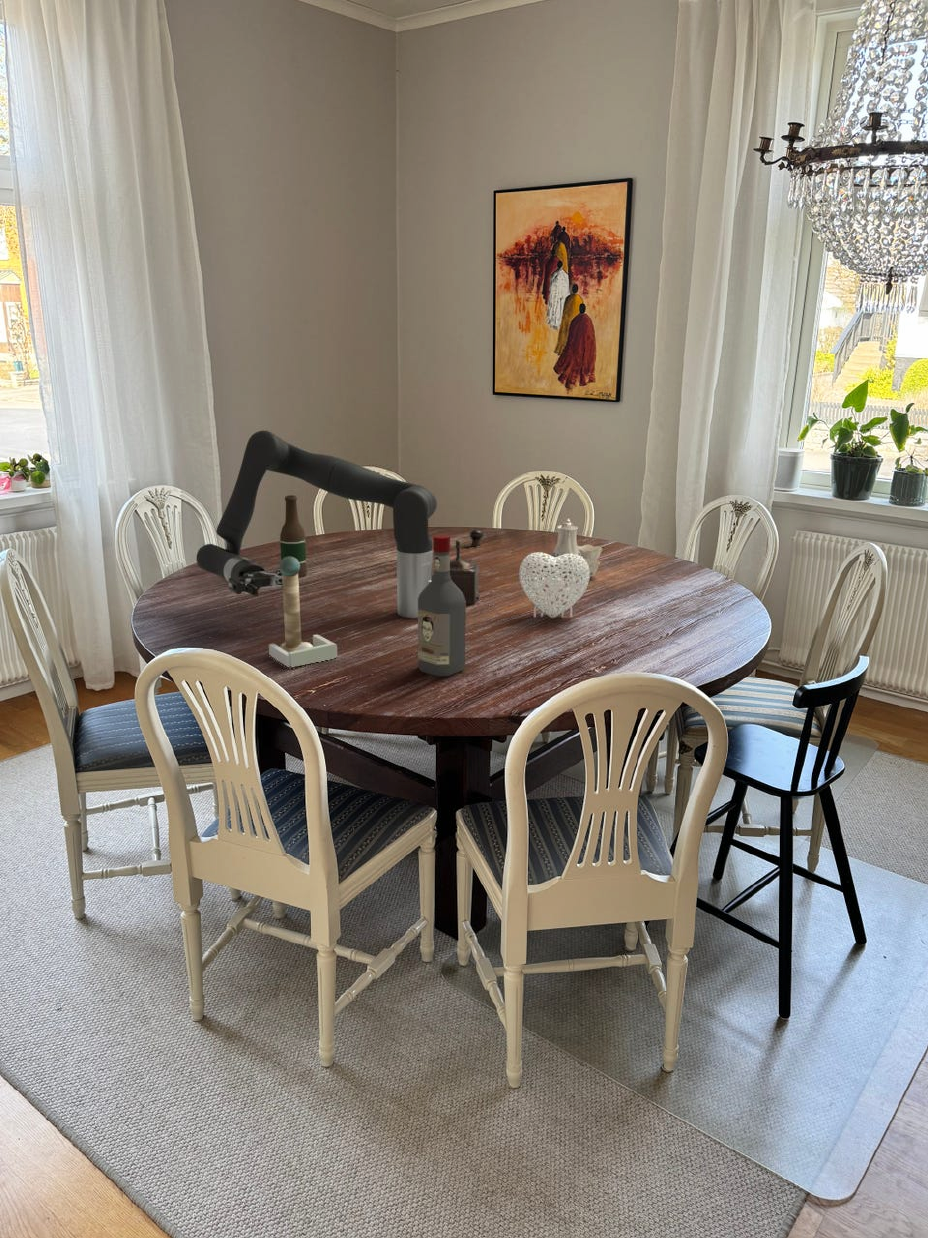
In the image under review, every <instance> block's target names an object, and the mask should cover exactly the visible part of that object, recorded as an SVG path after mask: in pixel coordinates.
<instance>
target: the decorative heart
mask: <svg viewBox="0 0 928 1238" xmlns="http://www.w3.org/2000/svg"><path fill="white" fill-rule="evenodd" d="M568 556H569V557H568ZM572 556H573V557H572ZM568 558H571V559H570V560H568ZM578 560H579V561H578ZM563 561H566V562H563ZM569 561H571V563H569ZM575 561H576V562H575ZM556 562H557V563H556ZM583 562H584V563H583ZM520 563H521V564H520V566H519V571H518V573H519V575H518V576H519V583H520V585H521V588H522V590H523V592H524V594H525V595H526V596H527V598H528V599H529V600H530V602H531V603H533V605H534V606H533V607H534V608H533V618H537V609H538V610H539V611H541V612H540V617H541V618H543V617H544V614H545V615H547V616H548V617H550V619H555V618H557V616H560V615H561V618H562V619H564V618H565V612H566V611H567V610H569V609H570V611H569V618H570V619H572V618H573V609H574V608H573V606H574V605H575V604H576V603H577V602H578V601H579V600H580V599H581V597H582V596H583V595H584V593H585V592H586V590H587V587H588V585H589V582H590V579H589V576H590V571H589V566H588V564H587V562H586V561H585V560H584V559H583V558H582V557H581V556H579V555H576V554H564V555H561V556H558V557H552V556H551V554H548V553H545V552H541V551H540V552H531V553H530V554H527V556H525V557H524V559H523V560H522V561H521V562H520ZM573 563H575V564H573ZM577 563H579V565H578V564H577ZM581 563H582V564H581ZM565 564H567V565H565ZM551 565H553V567H552V566H551ZM555 565H558V566H557V567H556V566H555ZM570 565H572V566H570ZM574 565H576V566H574ZM573 567H574V568H573ZM559 568H561V569H559ZM564 568H566V569H564ZM578 568H579V569H578ZM569 569H570V570H569ZM576 570H577V571H576ZM581 570H582V571H581ZM564 571H566V573H562V572H564ZM569 571H571V573H568V572H569ZM578 571H579V572H578ZM579 575H580V576H579ZM565 577H566V578H565ZM581 577H582V579H581ZM584 577H585V578H584ZM590 577H591V576H590ZM566 585H567V586H566ZM544 590H545V591H544ZM560 590H561V591H560ZM559 591H560V592H559ZM564 603H565V604H564Z"/></svg>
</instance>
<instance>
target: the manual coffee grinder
mask: <svg viewBox="0 0 928 1238" xmlns="http://www.w3.org/2000/svg"><path fill="white" fill-rule="evenodd" d="M469 537H470V539H471V543H470V545H461V541H460V540H456V541H455V549H456V558H454V559H452V560H450V576H451V580H452V582H453V583H454V584H455V585H456V586H457V587H458V588H459V589H460V590H461V591H462V593H463V595H464V598H465V601H466V606H474V605H475V604H476V603H477V601H478V599H480V594H479V593H480V592H479V567H480V563H479V562H471V561H472V559H471V558H470V560H467V559H465V558H461V553H460V552H461V550H469V549H472V548H474V549H476V548H477V547H481V540H482V539H483V537H484V532H483V531H481V529H472V530H470V532H469Z"/></svg>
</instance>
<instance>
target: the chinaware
mask: <svg viewBox="0 0 928 1238" xmlns="http://www.w3.org/2000/svg"><path fill="white" fill-rule="evenodd" d="M556 527H557V531H558V535H557V536H558V538H557V543H556V545H555V548H554V550H553V551H552V553H551V554H550V556H552V557H558V556H561V555H564V554H576V555H579V556H581V557H582V558H583V559H584V560H585V561H586V562H587V564H588V566H589V571H590V576H589V580H591V577H592V576H594V575H595V574H596V572H597V571H598V567H599V565H600V564H602V561H601V560H598V559H599V558H600V556H601V553H602V552H603V548H602V546H600V545H596V546H594V545H591V544H584V545H578V543H577V533H578V529H579V526H577V525H574V524H573V522H571V520H570V518H566V520H565V522H563V523H562V524H560V525H558V526H556ZM568 557H569V556H568ZM572 557H573V556H572ZM570 559H571V558H568V560H570ZM578 561H579V560H578ZM563 562H566V561H563ZM575 562H576V561H575ZM556 563H557V562H556ZM569 563H571V561H569ZM583 563H584V562H583ZM573 564H575V563H573ZM577 564H578V565H579V563H577ZM581 564H582V563H581ZM565 565H567V564H565ZM555 566H556V567H557V566H558V565H555ZM570 566H572V565H570ZM574 566H576V565H574ZM551 567H553V565H551ZM573 568H574V567H573ZM559 569H561V568H559ZM564 569H566V568H564ZM578 569H579V568H578ZM569 570H570V569H569ZM576 571H577V570H576ZM581 571H582V570H581ZM578 572H579V571H578ZM562 573H563V574H565V573H566V571H564V572H562ZM568 573H569V574H571V571H569V572H568ZM579 576H580V575H579ZM584 578H585V577H584ZM581 580H582V577H581Z"/></svg>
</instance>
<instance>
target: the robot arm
mask: <svg viewBox="0 0 928 1238" xmlns="http://www.w3.org/2000/svg"><path fill="white" fill-rule="evenodd" d="M241 461H242V462H241V464H240V468H239V472H238V475H237V479H236V481H235V484H234V487H233V490H232V492H231V495H230V498H229V501H228V503H227V505H226V508H225V509H224V512H223V513H222V516H221V519H220V521H219V523H218V525H217V527H216V530H215V531H216V534H217V536H219V537H220V538H221V539H223V540H224V541H225V543H226V548H223V547H221V546H218V545H216V544H214V543H205V544H203V545H202V546H201V547H200V548H199V549H198V550H197V553H196V558H195V559H196V562H197V566H198V567H199V568H200V569H202V570H203V571H205V572H209V573H211V574H213V575H215V576H216V575H217V576H218V577H220V578H221V579H223V580H225V581H226V582H228V589H229V590H230V591H231V592H234V593H235V594H236V595H242V592H243V593H244V594H247V595H248V594H249V595H251V596H254V597H258V596H259V590H261V589H267V588H268V589H276V588H282V589H283V584H282V573H281V571H280V569H278V570H276V571H275V573H274V572H266V569H264V567H263V566H262V565H261V564H259V563H257V562H254V561H253V560H251V559H248V558H246V557H242V556H241V555H240V554H241V548H242V543H243V539H244V536H245V534H246V531H247V530H248V527H249V525H250V523H251V520H252V518H253V516H254V512H255V507H256V501H257V496H258V490H259V487H260V484H261V482H262V480H263V477H264V475H265V474H266V472H267V471H270V472H274V473H278V474H282V475H286V476H291V477H294V478H298V479H299V480H302V481H304V482H306V483H308V484H310V485H312V486H313V487H316V488H318V489H319V490H323V491H325V492H328V493H330V494H331V495H335V496H337V497H341V498H344V499H347V500H350V501H351V500H352V501H357V502H365V503H375V504H380V505H382V506H387V507H389V508H392V520H393V521H392V523H393V537H394V541H395V543H396V580H397V581H396V584H397V587H396V588H397V589H396V592H397V595H396V597H397V614H398V616H400V617H403V618H406V619H407V618H408V619H418V597H419V594H420V593H421V592H422V591H423V590H424V588H425V587H426V586H427V585H428V584H429V583H430V582H431V581H432V580H433V574H434V551H433V539H432V538H431V537H430V533H429V532H430V531H429V519H430V518H431V517H432V516H433V515H434V513H435V512H436V510H437V507H438V503H437V502H438V501H437V498H436V496H435V494H434V493H433V491H432V490H430V489H429V488H427V487H425V486H423V485H420V484H416V483H412V482H407V481H403V480H399V479H396V478H391V477H388V476H386V475H384V474H381V473H380V472H377V471H374V470H371V469H369V468H367V467H364V466H361V465H359V464H356V463H354V462H351V461H348V460H345V459H343V458H339V457H335V456H332V455H327V454H322V453H321V454H320V453H315V452H309V451H306V450H304V449H301V448H300V447H297V446H295V445H293V444H291V443H289V442H287V441H285V440H284V439H282V438H281V437H279V436H277V435H276V434H274V433H273V432H272V431H268V430H259V431H258V430H257V431H256V432H254V433H253V434H252V435H251V436H250V438H248V441H247V444H246V446H245V449H244V452H243V457H242V460H241Z"/></svg>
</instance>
